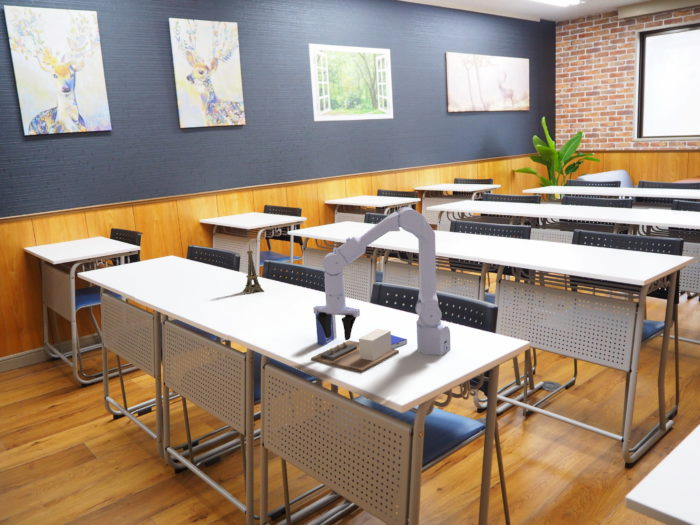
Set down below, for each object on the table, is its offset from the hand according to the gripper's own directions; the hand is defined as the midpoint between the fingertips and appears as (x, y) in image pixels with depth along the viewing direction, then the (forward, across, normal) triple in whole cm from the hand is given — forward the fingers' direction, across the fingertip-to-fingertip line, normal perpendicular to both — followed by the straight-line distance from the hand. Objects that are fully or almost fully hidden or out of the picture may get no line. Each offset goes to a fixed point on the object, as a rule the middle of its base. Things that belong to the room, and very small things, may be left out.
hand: (338, 338), depth 170 cm
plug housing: (+5, -11, -3) cm, 12 cm away
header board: (+6, -5, -1) cm, 7 cm away
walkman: (+6, +10, -10) cm, 15 cm away
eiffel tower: (+6, +71, -53) cm, 89 cm away
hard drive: (+5, -2, -18) cm, 19 cm away
